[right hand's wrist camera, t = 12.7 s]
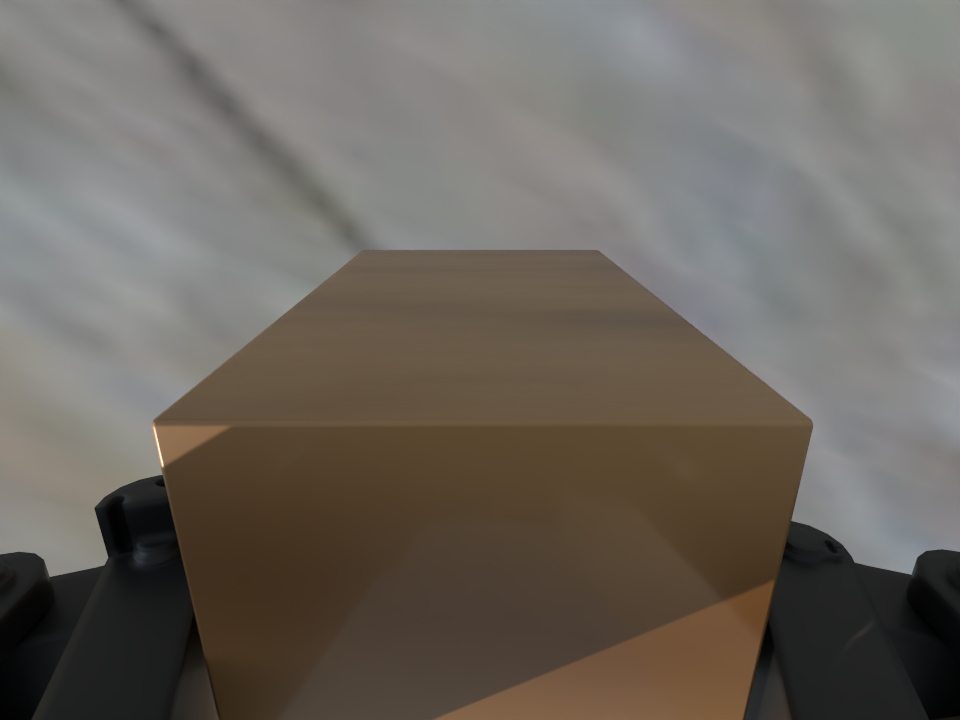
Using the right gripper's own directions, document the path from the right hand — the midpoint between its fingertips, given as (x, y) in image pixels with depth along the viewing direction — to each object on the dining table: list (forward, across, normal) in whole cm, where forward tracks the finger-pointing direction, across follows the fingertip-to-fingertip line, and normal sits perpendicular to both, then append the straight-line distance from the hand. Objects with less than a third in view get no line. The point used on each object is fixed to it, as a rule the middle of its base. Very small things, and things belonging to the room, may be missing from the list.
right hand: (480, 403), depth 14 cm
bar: (+1, 0, -10) cm, 10 cm away
